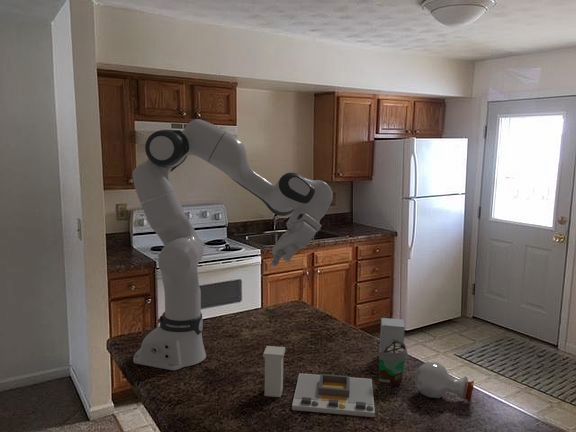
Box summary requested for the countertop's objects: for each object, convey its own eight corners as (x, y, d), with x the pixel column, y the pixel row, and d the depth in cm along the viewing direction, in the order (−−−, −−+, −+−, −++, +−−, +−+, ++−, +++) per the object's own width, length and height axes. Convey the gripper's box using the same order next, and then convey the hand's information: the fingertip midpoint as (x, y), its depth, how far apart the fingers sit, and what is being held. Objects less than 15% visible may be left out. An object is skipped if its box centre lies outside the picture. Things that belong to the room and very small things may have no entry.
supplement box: (403, 365, 147) (405, 327, 145) (378, 363, 148) (380, 325, 147) (402, 356, 154) (404, 319, 152) (379, 353, 155) (380, 317, 154)
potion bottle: (411, 393, 132) (467, 412, 127) (410, 387, 124) (469, 407, 118) (419, 361, 136) (473, 378, 130) (418, 354, 128) (476, 371, 122)
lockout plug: (262, 396, 127) (263, 353, 125) (266, 387, 132) (266, 345, 130) (281, 398, 126) (282, 355, 124) (284, 388, 131) (285, 347, 129)
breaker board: (291, 409, 120) (292, 398, 120) (299, 377, 138) (299, 366, 137) (374, 417, 118) (375, 405, 117) (371, 382, 135) (371, 372, 135)
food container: (398, 391, 130) (400, 357, 129) (377, 385, 134) (378, 352, 132) (411, 374, 141) (413, 343, 140) (392, 369, 144) (393, 338, 143)
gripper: (280, 227, 152) (258, 262, 146) (307, 212, 133) (284, 250, 128) (295, 238, 153) (274, 273, 147) (324, 225, 135) (302, 263, 129)
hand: (279, 262), depth 137 cm, fingers open, 8 cm apart
